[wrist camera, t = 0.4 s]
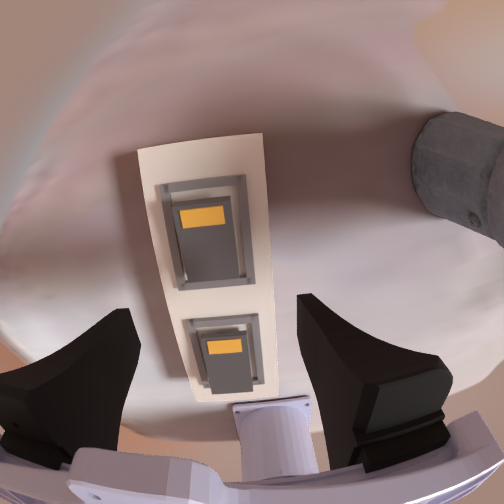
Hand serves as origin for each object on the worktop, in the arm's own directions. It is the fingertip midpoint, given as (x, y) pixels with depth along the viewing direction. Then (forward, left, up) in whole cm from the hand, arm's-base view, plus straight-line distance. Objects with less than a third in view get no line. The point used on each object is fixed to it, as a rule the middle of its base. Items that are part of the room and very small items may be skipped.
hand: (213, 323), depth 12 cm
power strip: (-3, 0, -9) cm, 10 cm away
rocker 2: (-7, 0, -5) cm, 9 cm away
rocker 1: (+2, 0, -5) cm, 5 cm away
